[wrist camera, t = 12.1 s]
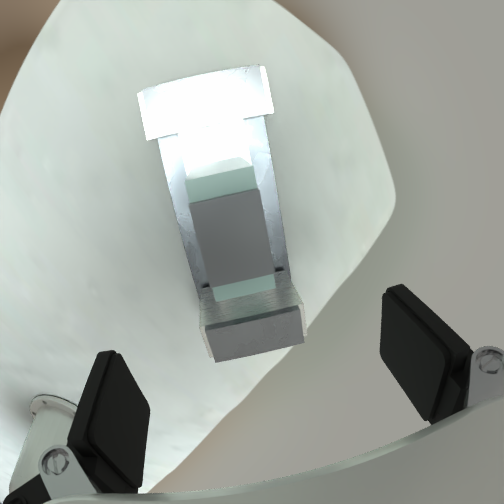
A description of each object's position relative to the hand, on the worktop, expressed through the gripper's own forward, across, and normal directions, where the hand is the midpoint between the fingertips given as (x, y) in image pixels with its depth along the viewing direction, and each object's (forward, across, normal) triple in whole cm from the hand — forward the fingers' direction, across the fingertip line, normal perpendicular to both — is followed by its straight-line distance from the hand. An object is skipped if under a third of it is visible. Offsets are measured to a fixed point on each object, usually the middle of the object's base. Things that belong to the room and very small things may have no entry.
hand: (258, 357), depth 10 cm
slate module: (+21, 0, 0) cm, 21 cm away
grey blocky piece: (+23, 0, 0) cm, 23 cm away
